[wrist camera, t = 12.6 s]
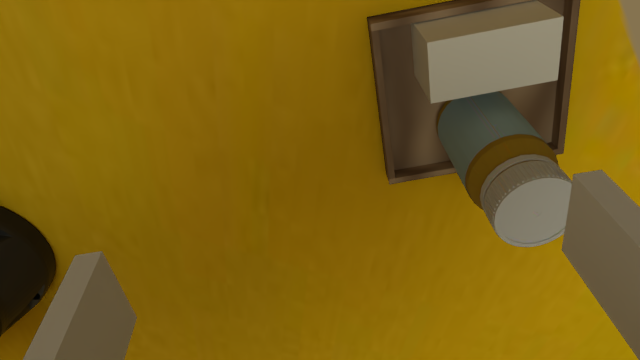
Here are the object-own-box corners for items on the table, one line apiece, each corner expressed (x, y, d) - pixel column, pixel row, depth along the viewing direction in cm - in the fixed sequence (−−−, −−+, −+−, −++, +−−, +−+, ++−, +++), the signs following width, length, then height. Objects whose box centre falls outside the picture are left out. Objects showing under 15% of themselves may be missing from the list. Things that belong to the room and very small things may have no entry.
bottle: (423, 105, 47) (474, 200, 34) (494, 69, 45) (575, 154, 32) (449, 160, 50) (504, 265, 38) (517, 128, 48) (597, 226, 36)
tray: (386, 173, 51) (389, 184, 50) (367, 17, 42) (370, 24, 41) (554, 143, 50) (563, 153, 49) (570, -23, 42) (582, -17, 40)
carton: (414, 75, 45) (430, 103, 40) (410, 19, 42) (427, 42, 37) (527, 53, 44) (557, 80, 39) (530, -4, 42) (563, 16, 37)
